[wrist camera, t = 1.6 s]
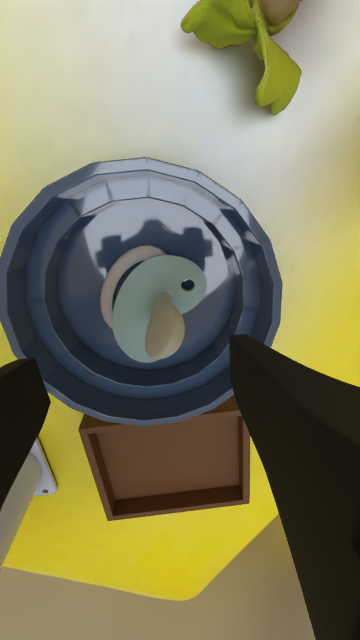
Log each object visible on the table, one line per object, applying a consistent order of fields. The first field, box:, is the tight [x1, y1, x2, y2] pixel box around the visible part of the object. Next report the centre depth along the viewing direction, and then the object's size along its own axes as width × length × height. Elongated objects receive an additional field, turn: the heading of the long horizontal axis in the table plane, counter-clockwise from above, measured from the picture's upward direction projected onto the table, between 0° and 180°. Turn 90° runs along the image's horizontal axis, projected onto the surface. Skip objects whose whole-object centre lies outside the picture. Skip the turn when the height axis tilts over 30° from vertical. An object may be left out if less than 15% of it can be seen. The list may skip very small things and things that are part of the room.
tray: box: [79, 395, 250, 521], centre depth 24 cm, size 13×11×2 cm
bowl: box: [0, 157, 282, 426], centre depth 17 cm, size 15×15×4 cm
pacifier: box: [100, 245, 207, 363], centre depth 16 cm, size 7×6×6 cm
